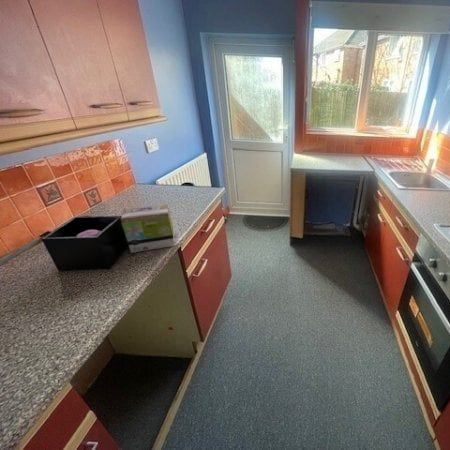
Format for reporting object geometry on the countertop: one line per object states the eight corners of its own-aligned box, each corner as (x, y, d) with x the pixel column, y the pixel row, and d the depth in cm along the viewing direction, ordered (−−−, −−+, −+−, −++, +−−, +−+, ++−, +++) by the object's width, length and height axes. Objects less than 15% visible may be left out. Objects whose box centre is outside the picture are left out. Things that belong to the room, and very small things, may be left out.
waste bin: (58, 271, 82) (41, 238, 76) (87, 245, 95) (75, 216, 90) (109, 269, 84) (96, 237, 78) (131, 244, 97) (122, 215, 91)
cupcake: (109, 260, 87) (99, 235, 82) (78, 265, 84) (66, 240, 79) (114, 247, 94) (106, 223, 90) (86, 251, 91) (76, 227, 87)
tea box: (130, 254, 92) (118, 218, 85) (133, 241, 100) (123, 207, 93) (175, 246, 98) (167, 212, 91) (175, 234, 105) (167, 202, 99)
